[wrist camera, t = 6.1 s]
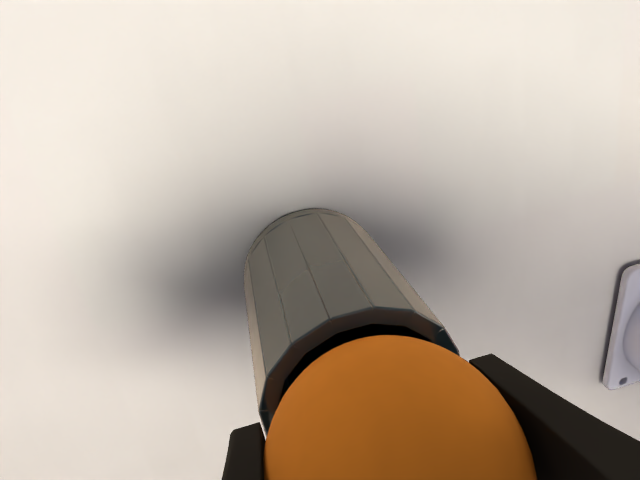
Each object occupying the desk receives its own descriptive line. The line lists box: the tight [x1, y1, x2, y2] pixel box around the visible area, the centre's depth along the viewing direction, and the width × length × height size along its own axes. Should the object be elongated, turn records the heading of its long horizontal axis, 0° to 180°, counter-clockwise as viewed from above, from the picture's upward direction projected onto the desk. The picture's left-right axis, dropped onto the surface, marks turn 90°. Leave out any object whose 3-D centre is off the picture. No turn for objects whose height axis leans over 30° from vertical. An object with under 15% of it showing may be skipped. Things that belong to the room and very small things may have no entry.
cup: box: [244, 209, 459, 438], centre depth 14 cm, size 5×5×7 cm
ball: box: [263, 335, 537, 480], centre depth 9 cm, size 6×6×6 cm
